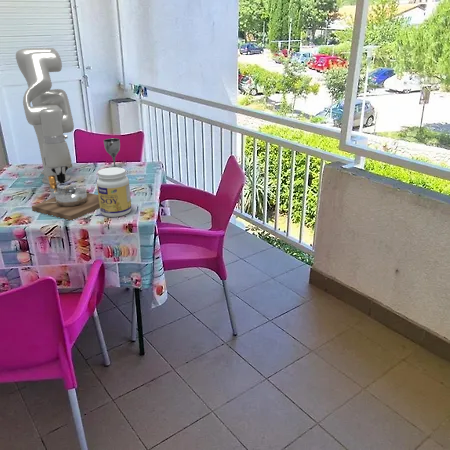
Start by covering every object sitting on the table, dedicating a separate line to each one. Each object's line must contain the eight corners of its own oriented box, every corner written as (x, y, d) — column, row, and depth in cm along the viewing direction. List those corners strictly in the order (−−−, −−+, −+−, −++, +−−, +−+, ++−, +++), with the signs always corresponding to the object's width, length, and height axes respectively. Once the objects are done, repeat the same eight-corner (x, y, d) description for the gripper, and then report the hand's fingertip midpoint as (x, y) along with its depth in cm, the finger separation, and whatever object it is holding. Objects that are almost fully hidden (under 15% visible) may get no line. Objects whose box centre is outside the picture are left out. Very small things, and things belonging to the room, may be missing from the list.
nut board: (32, 210, 175) (31, 205, 174) (74, 194, 192) (73, 189, 191) (71, 220, 165) (70, 215, 164) (111, 202, 182) (111, 197, 181)
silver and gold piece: (93, 199, 179) (90, 180, 175) (68, 208, 170) (64, 188, 166) (65, 190, 189) (62, 172, 186) (40, 198, 181) (36, 179, 177)
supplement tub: (96, 217, 167) (90, 175, 160) (106, 206, 178) (100, 166, 172) (127, 218, 167) (123, 175, 160) (135, 206, 178) (131, 166, 171)
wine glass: (115, 171, 222) (111, 142, 216) (104, 169, 226) (100, 140, 220) (126, 167, 228) (122, 139, 222) (115, 165, 232) (111, 137, 226)
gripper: (70, 135, 183) (77, 177, 190) (33, 140, 176) (41, 183, 183) (75, 138, 177) (82, 181, 185) (36, 143, 170) (45, 188, 177)
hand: (61, 182), depth 184 cm, fingers closed
